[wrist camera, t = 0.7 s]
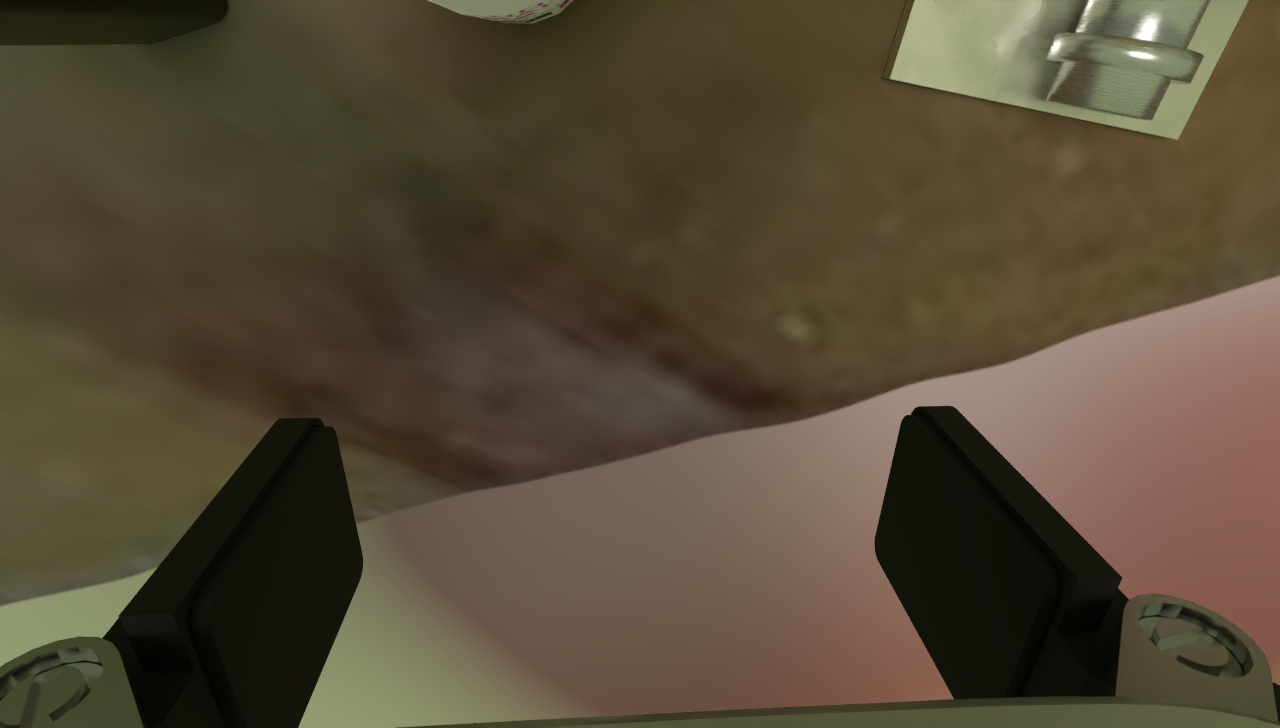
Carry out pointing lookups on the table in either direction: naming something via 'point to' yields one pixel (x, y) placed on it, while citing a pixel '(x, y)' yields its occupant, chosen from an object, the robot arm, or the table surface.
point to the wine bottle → (102, 20)
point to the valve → (1069, 55)
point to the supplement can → (507, 9)
